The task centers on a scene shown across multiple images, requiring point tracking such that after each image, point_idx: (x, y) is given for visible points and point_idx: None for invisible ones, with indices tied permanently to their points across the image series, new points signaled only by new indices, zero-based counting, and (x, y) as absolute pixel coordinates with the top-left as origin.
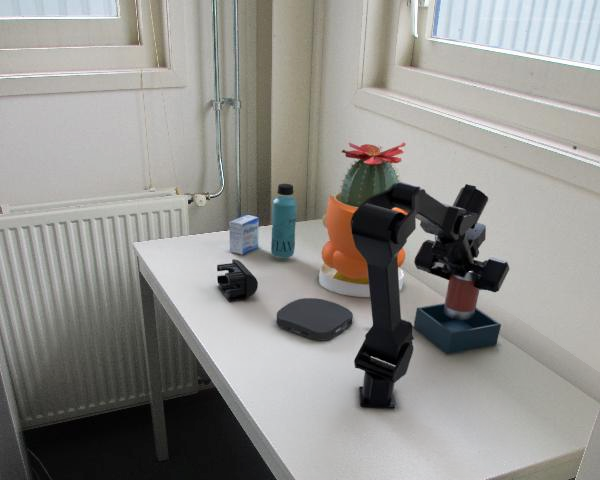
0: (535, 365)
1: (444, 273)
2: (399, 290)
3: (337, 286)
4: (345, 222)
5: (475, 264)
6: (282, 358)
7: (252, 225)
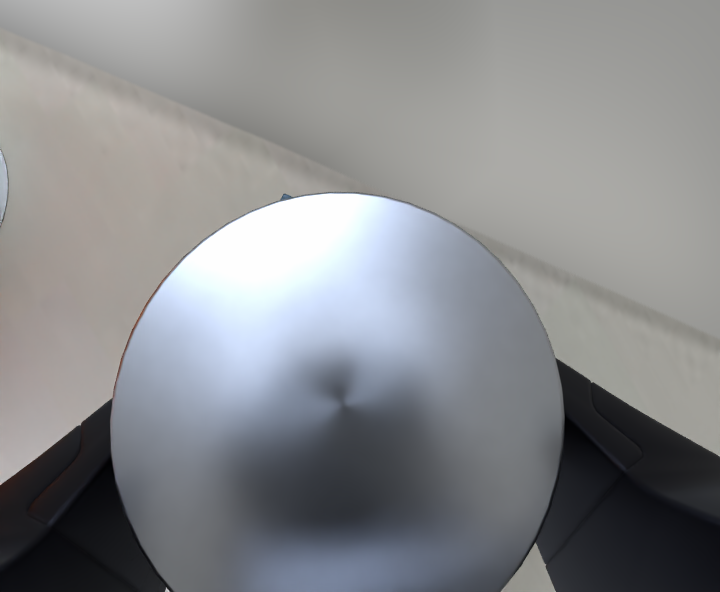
0: (637, 343)
1: (147, 570)
2: (5, 183)
3: None
4: None
5: (381, 261)
6: None
7: None
